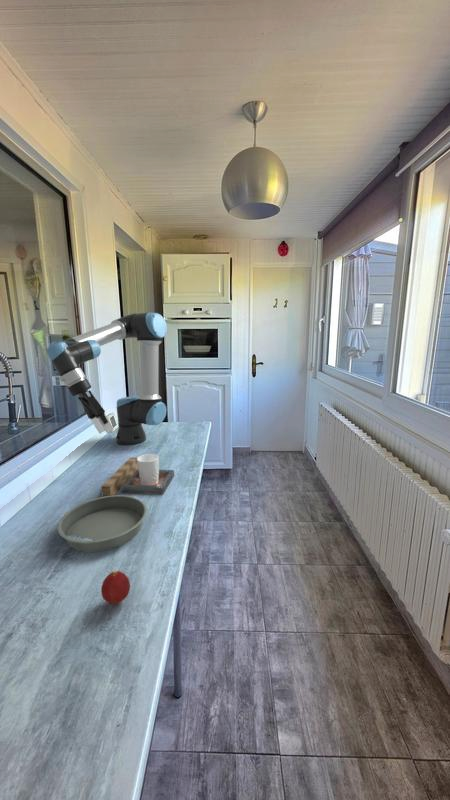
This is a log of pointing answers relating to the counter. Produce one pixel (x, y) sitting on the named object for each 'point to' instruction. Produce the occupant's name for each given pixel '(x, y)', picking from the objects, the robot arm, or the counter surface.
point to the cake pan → (103, 522)
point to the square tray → (160, 488)
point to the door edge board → (119, 477)
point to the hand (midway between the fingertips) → (106, 431)
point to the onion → (115, 587)
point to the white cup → (148, 469)
